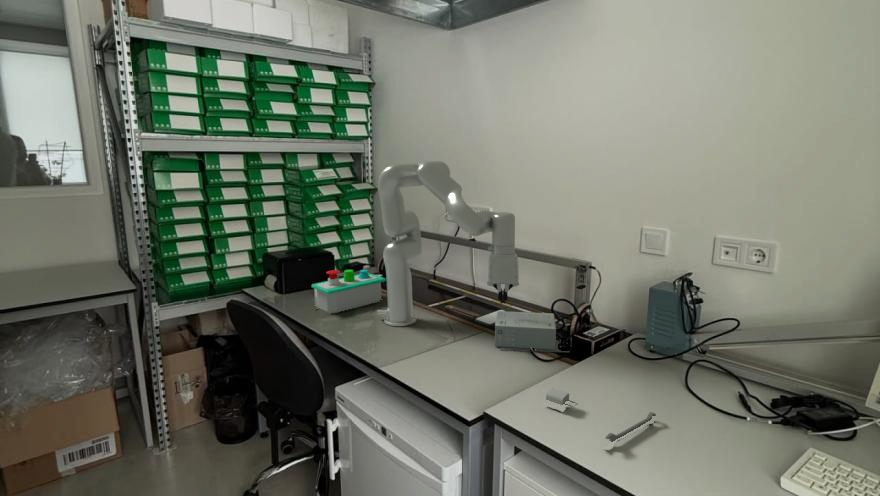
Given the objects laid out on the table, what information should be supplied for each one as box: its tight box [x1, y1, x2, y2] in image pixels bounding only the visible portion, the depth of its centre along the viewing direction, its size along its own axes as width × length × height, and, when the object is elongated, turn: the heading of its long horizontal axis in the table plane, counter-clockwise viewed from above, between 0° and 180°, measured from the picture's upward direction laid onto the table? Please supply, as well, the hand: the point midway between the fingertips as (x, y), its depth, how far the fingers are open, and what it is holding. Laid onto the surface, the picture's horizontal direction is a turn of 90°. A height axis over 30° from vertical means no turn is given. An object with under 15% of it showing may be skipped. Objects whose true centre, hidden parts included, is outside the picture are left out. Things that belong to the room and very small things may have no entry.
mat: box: [499, 340, 570, 353], centre depth 161 cm, size 22×20×1 cm
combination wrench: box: [605, 411, 657, 442], centre depth 105 cm, size 4×1×20 cm
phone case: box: [474, 309, 506, 328], centre depth 181 cm, size 9×2×16 cm
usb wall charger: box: [545, 387, 578, 408], centre depth 116 cm, size 4×7×4 cm, turn 51°
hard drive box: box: [494, 310, 557, 350], centre depth 159 cm, size 16×8×20 cm
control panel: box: [311, 269, 387, 314], centre depth 200 cm, size 15×16×30 cm
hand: (502, 302), depth 159 cm, fingers closed
